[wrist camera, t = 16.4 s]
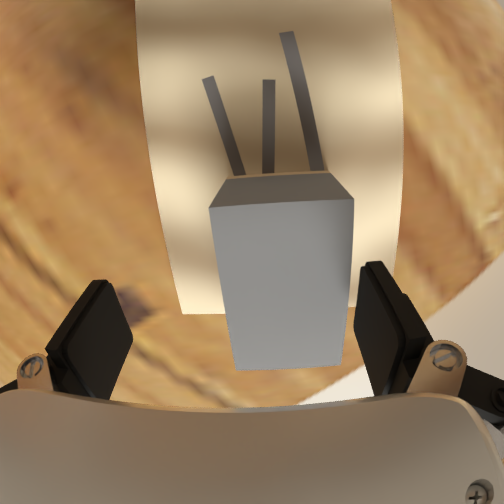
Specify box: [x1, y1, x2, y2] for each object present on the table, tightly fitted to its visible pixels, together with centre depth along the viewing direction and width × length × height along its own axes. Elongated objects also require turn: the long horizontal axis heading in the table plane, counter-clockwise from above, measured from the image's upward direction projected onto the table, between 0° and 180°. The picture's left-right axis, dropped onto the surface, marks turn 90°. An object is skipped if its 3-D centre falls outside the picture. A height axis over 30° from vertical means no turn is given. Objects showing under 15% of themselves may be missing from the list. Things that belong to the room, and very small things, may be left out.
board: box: [135, 0, 403, 314], centre depth 14 cm, size 20×13×1 cm, turn 5°
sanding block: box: [209, 171, 354, 370], centre depth 14 cm, size 8×5×5 cm, turn 5°
